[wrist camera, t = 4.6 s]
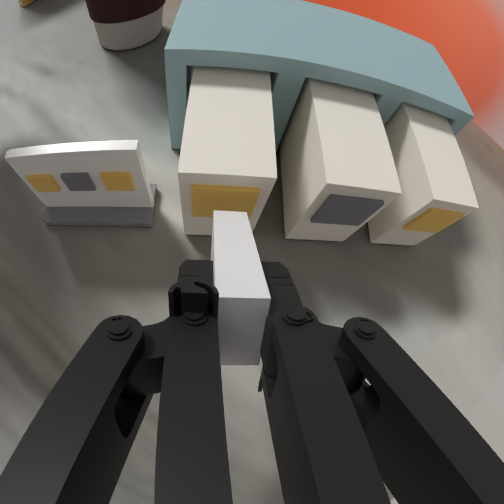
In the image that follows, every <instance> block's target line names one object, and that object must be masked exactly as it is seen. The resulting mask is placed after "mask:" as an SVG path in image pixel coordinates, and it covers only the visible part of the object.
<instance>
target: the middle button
mask: <svg viewBox="0 0 504 504" xmlns="http://www.w3.org/2000/svg"><path fill="white" fill-rule="evenodd" d="M279 147H280V161H281V176H282V191H283V209H284V227H285V239H305V240H325V241H344V240H345V239H347V238H348V237H349V236H350V235H352V234H353V233H354V232H355V231H357V230H358V229H359V228H360V227H362V226H363V225H364V224H365V223H367V222H368V221H369V220H370V219H372V218H373V217H374V216H375V215H377V214H378V213H379V212H380V211H381V210H383V209H384V208H385V207H386V206H388V205H389V204H390V203H391V202H392V201H394V200H395V199H396V198H397V197H398V196H400V195H401V194H402V192H401V187H400V183H399V179H398V175H397V171H396V167H395V163H394V159H393V156H392V152H391V148H390V145H389V142H388V138H387V135H386V132H385V128H384V125H383V122H382V119H381V116H380V113H379V110H378V107H377V104H376V101H375V98H374V95H373V93H372V92H369V91H366V90H362V89H358V88H354V87H350V86H346V85H341V84H337V83H332V82H328V81H323V80H318V79H313V78H307V77H306V78H305V80H304V83H303V85H302V88H301V90H300V93H299V95H298V98H297V100H296V103H295V105H294V108H293V110H292V113H291V115H290V118H289V120H288V123H287V125H286V128H285V130H284V133H283V135H282V138H281V140H280V143H279Z"/></svg>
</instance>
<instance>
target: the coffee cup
mask: <svg viewBox="0 0 504 504" xmlns="http://www.w3.org/2000/svg"><path fill="white" fill-rule="evenodd" d="M85 1H86V4H87V8H88V12H89V15H90V18H91V19H92V20H93V22H94V25H95V29H96V32H97V35H98V39H99V42H100V44H101V45H102V46H103V47H105V48H107V49H110V50H127V49H132V48H136V47H139V46H142V45H144V44H147V43H148V42H150V41H152V40H153V39H155V38H156V37H157V36H158V35H159V33H160V31H161V28H162V15H163V5H164V3H165V0H85Z"/></svg>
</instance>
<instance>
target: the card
mask: <svg viewBox="0 0 504 504" xmlns="http://www.w3.org/2000/svg"><path fill="white" fill-rule="evenodd" d="M4 159H5V160H6V161H7V162H8V163H9V165H10V166H11V167H12V168H13V169H14V171H15V172H16V173H17V174H18V175H19V176H20V178H21V179H22V180H23V181H24V182H25V183H26V184H27V186H28V187H29V188H30V189H31V190H32V191H33V192H34V193H35V194H36V196H37V197H38V198H39V199H40V200H41V201H42V202H43V203H44V204H45V205H46V206H47V208H46V212H45V217H44V221H43V222H44V223H45V224H46V225H82V226H129V227H152V223H153V214H154V206H155V198H156V190H157V187H156V184H149V180H148V177H147V173H146V169H145V165H144V161H143V157H142V153H141V149H140V145H139V141H138V140H112V141H90V142H74V143H61V144H50V145H40V146H31V147H23V148H15V149H8V150H7V152H6V155H5V158H4Z"/></svg>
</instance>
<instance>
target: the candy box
mask: <svg viewBox="0 0 504 504" xmlns="http://www.w3.org/2000/svg"><path fill="white" fill-rule="evenodd" d="M18 1H19V4H20V5H22V6H23V7H25V6H27V5H29V4H30V3H32V2H33V1H35V0H18Z"/></svg>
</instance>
